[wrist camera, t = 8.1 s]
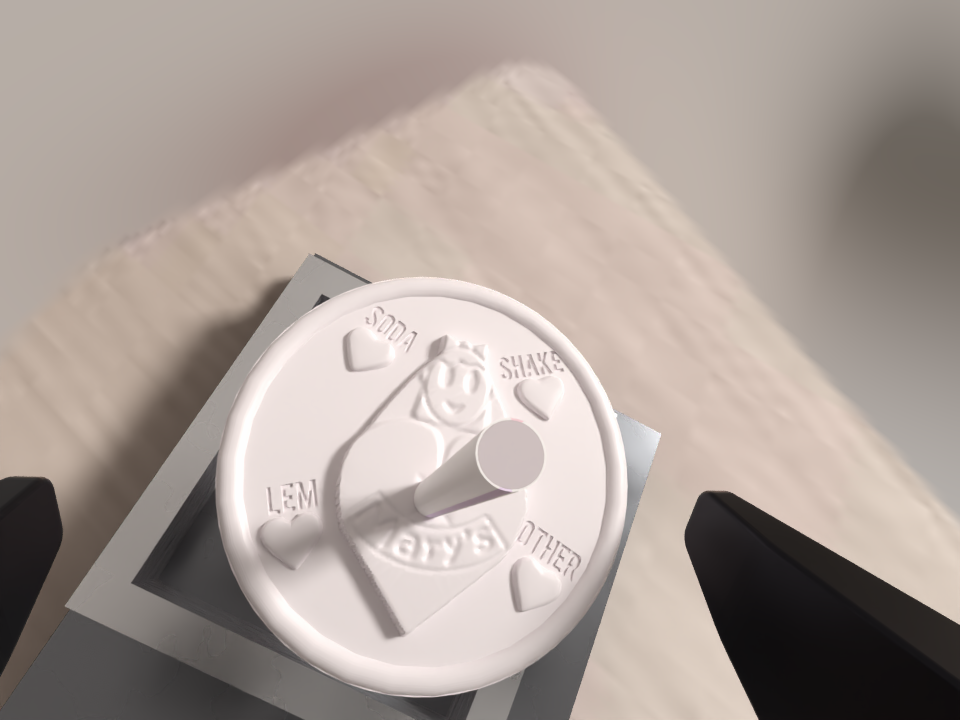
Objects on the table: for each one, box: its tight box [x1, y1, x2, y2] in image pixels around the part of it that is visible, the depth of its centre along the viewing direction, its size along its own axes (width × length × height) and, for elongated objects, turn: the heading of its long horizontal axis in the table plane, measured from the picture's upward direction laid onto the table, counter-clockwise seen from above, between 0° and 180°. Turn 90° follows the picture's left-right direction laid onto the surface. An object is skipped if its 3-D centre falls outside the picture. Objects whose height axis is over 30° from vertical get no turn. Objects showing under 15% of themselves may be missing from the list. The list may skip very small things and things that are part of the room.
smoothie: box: [215, 277, 628, 697], centre depth 11 cm, size 6×6×14 cm
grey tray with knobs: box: [0, 253, 661, 720], centre depth 16 cm, size 19×14×4 cm
